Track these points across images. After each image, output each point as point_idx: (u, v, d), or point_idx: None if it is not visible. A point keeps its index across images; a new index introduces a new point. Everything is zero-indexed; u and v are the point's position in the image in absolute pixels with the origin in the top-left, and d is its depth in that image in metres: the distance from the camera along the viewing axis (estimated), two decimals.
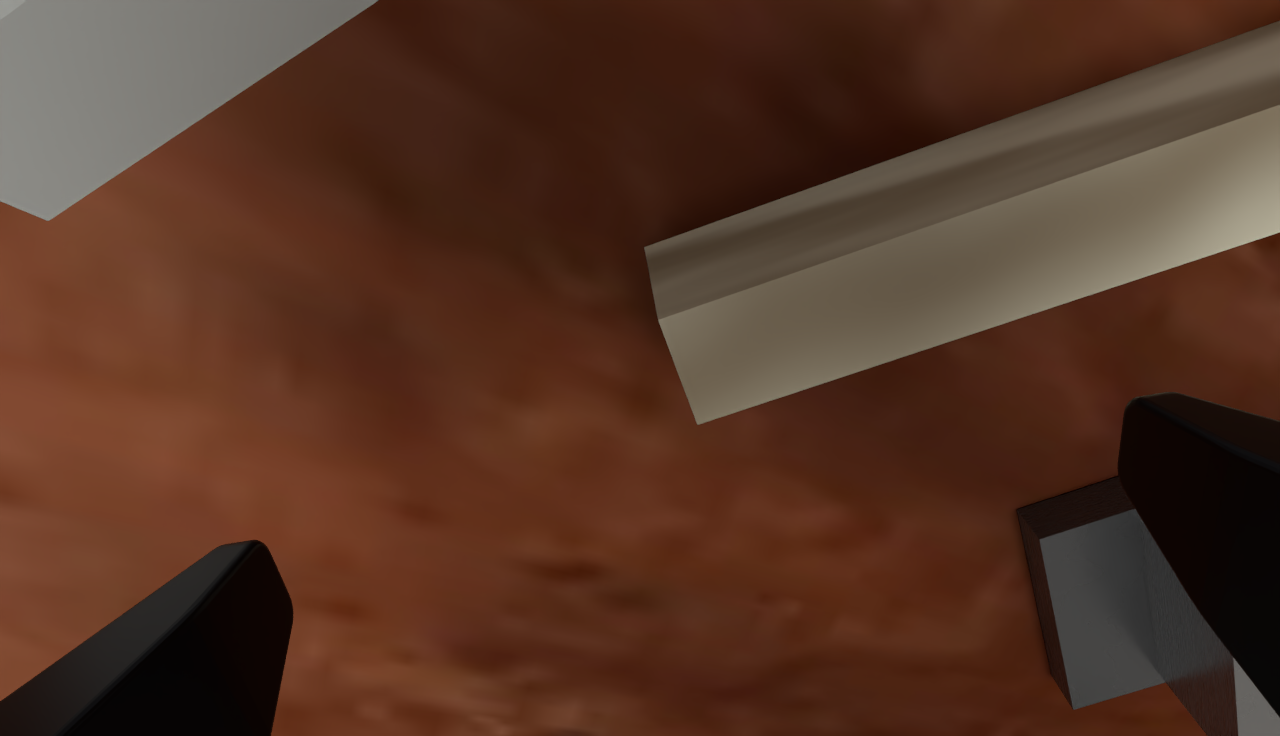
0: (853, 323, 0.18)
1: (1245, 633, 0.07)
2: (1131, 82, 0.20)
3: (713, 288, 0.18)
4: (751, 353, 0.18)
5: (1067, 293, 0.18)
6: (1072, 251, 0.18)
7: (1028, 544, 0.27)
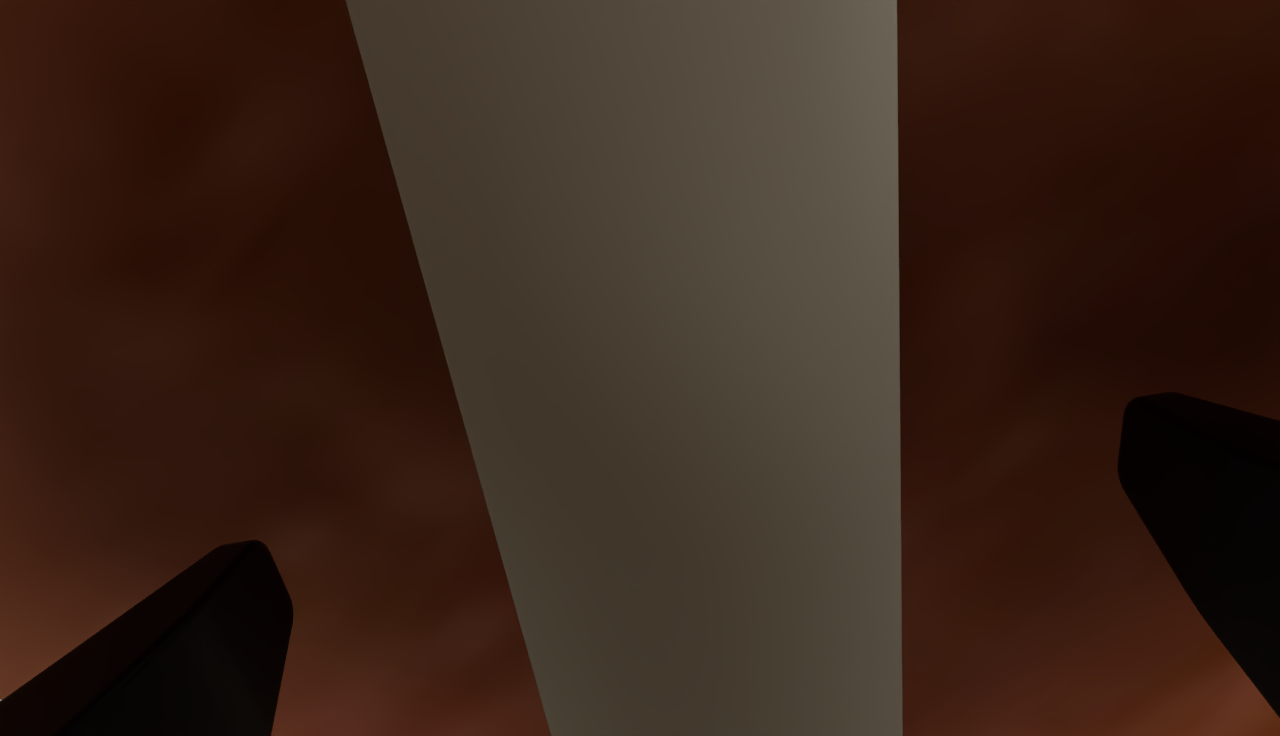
0: None
1: (1245, 633, 0.07)
2: None
3: None
4: None
5: (874, 710, 0.07)
6: (756, 708, 0.07)
7: None
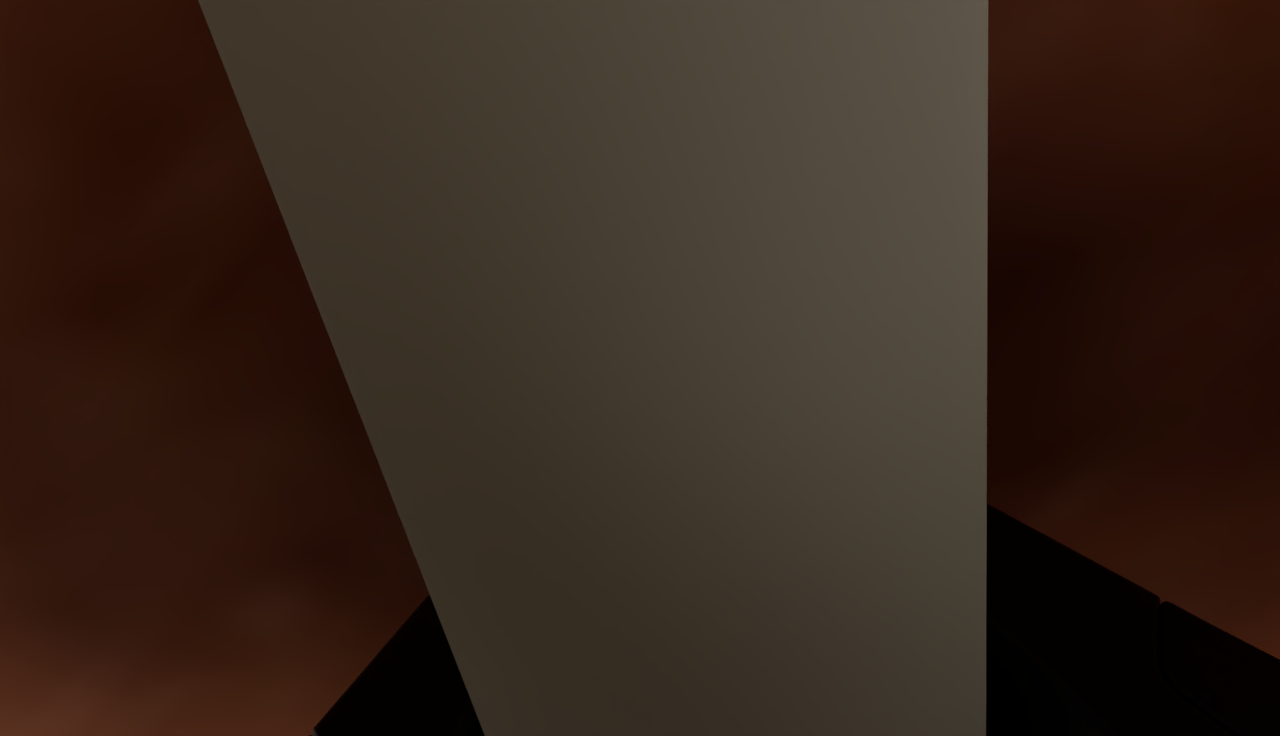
0: None
1: None
2: None
3: None
4: None
5: None
6: None
7: None
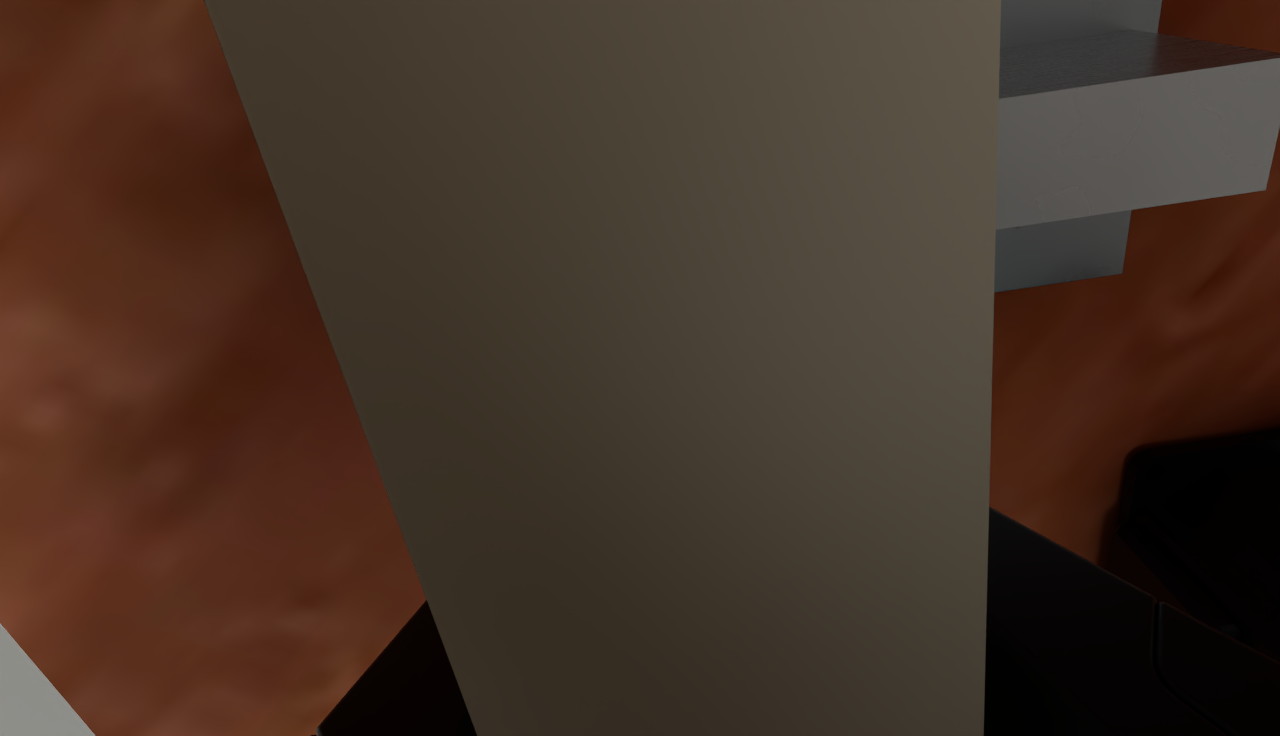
0: None
1: None
2: None
3: None
4: None
5: None
6: None
7: None
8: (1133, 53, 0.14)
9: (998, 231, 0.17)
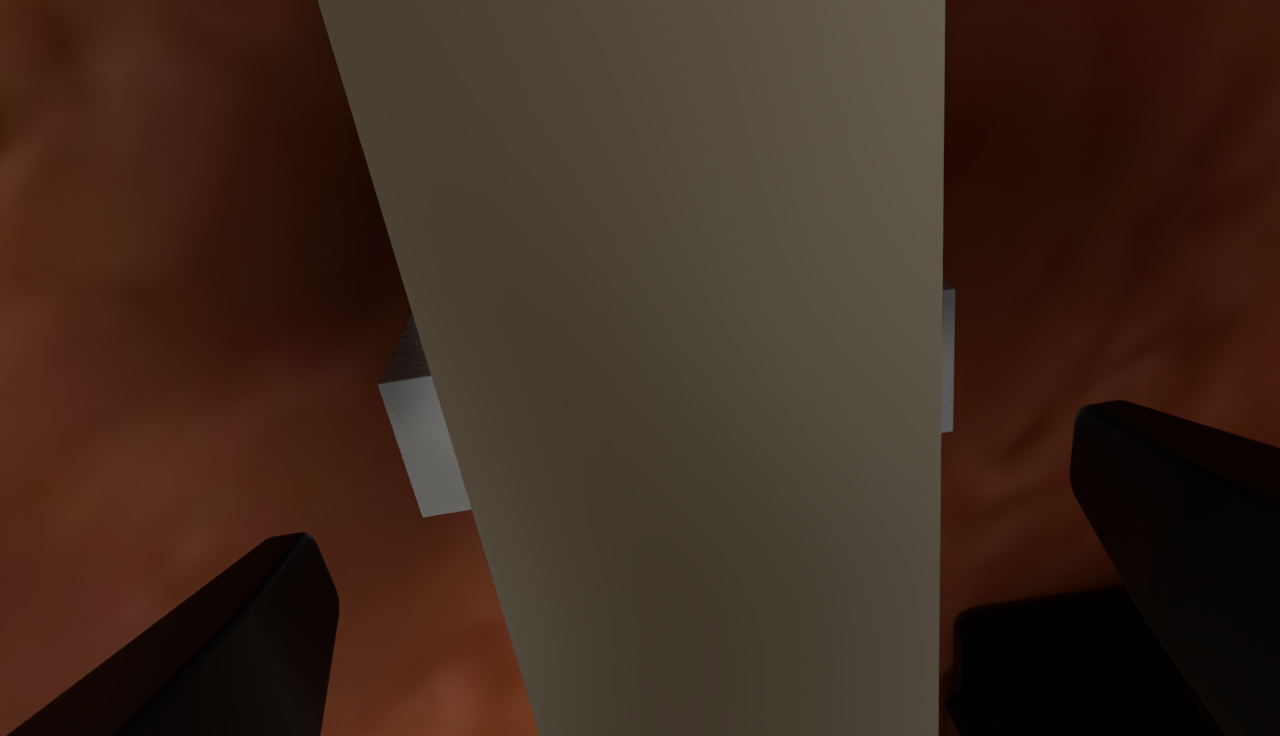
0: None
1: (1187, 642, 0.07)
2: None
3: None
4: None
5: None
6: None
7: None
8: None
9: None
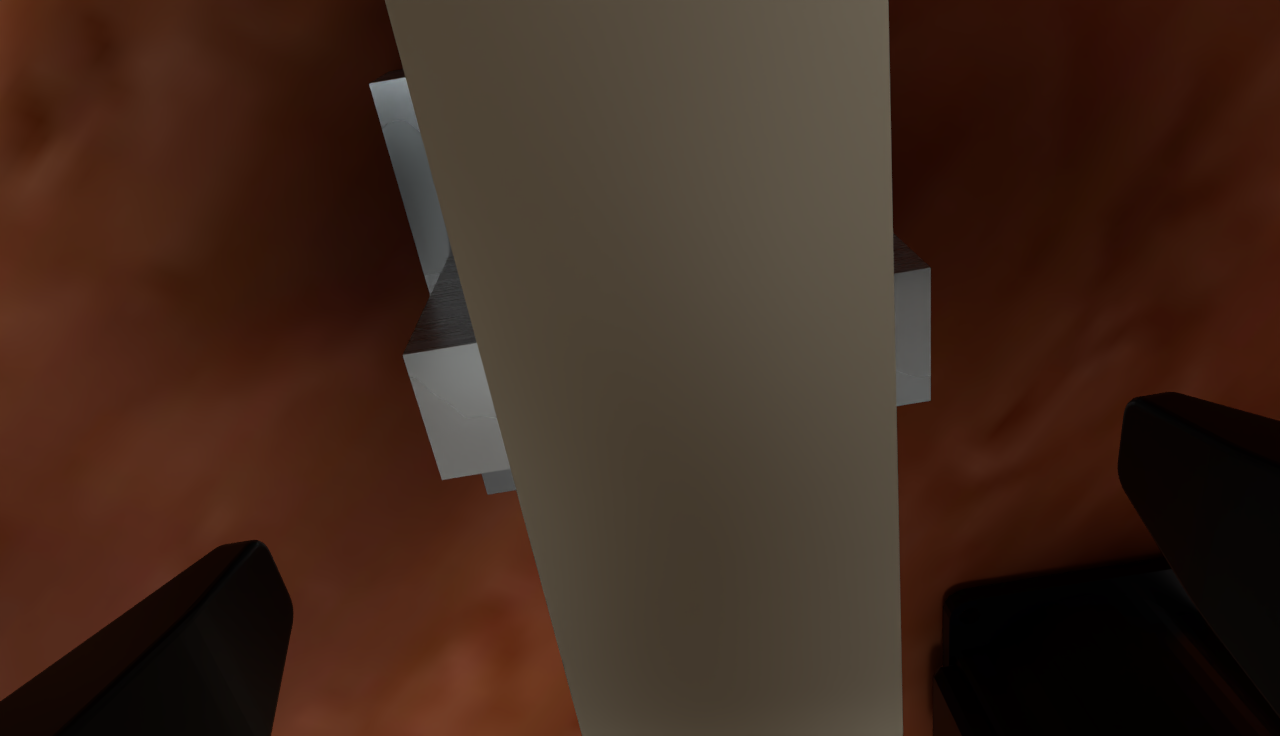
0: None
1: (1245, 633, 0.07)
2: None
3: None
4: None
5: (875, 672, 0.07)
6: (764, 670, 0.07)
7: None
8: None
9: None
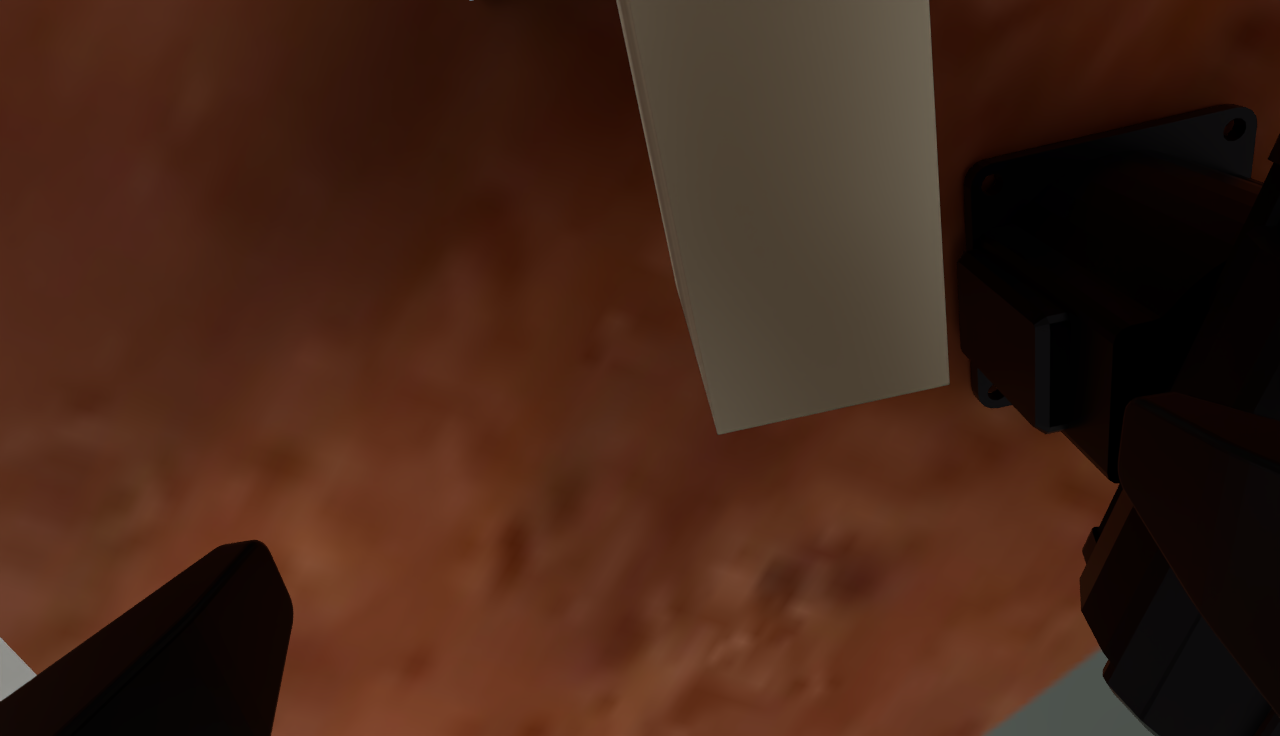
0: (808, 62, 0.08)
1: (1245, 633, 0.07)
2: None
3: (691, 314, 0.10)
4: (825, 280, 0.09)
5: None
6: None
7: None
8: None
9: None
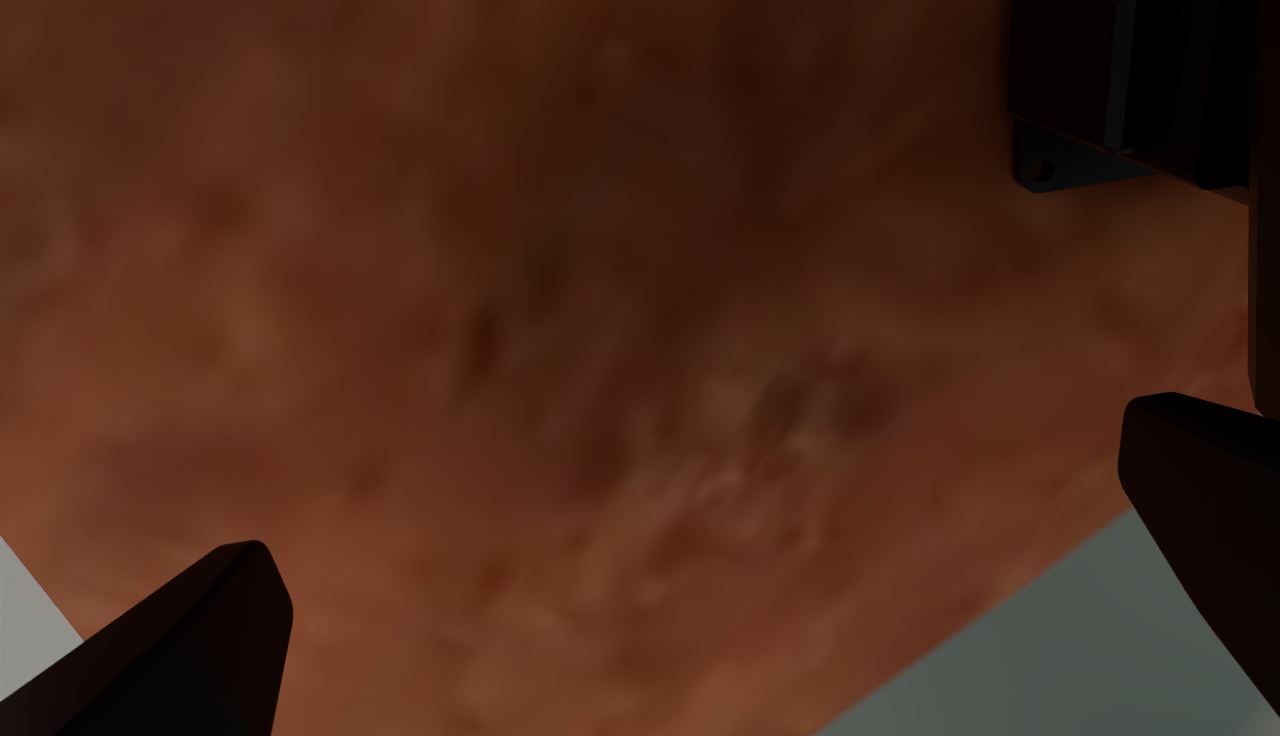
0: None
1: (1244, 633, 0.07)
2: None
3: None
4: None
5: None
6: None
7: None
8: None
9: None
